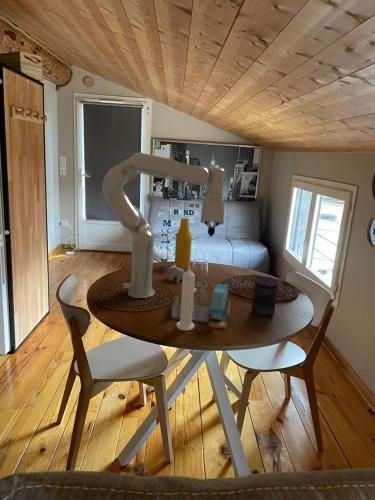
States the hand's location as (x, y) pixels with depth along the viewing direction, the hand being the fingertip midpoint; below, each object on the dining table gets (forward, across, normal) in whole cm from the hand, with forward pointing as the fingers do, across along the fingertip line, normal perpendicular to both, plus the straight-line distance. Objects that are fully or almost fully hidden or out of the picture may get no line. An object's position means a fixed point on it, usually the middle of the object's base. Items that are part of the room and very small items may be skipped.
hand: (210, 235), depth 165 cm
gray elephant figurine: (+29, -19, +15) cm, 38 cm away
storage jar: (+29, +26, -14) cm, 42 cm away
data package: (+28, +7, -23) cm, 37 cm away
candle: (+29, -5, -35) cm, 46 cm away
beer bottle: (+29, -18, +38) cm, 51 cm away
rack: (+29, 0, -24) cm, 38 cm away
